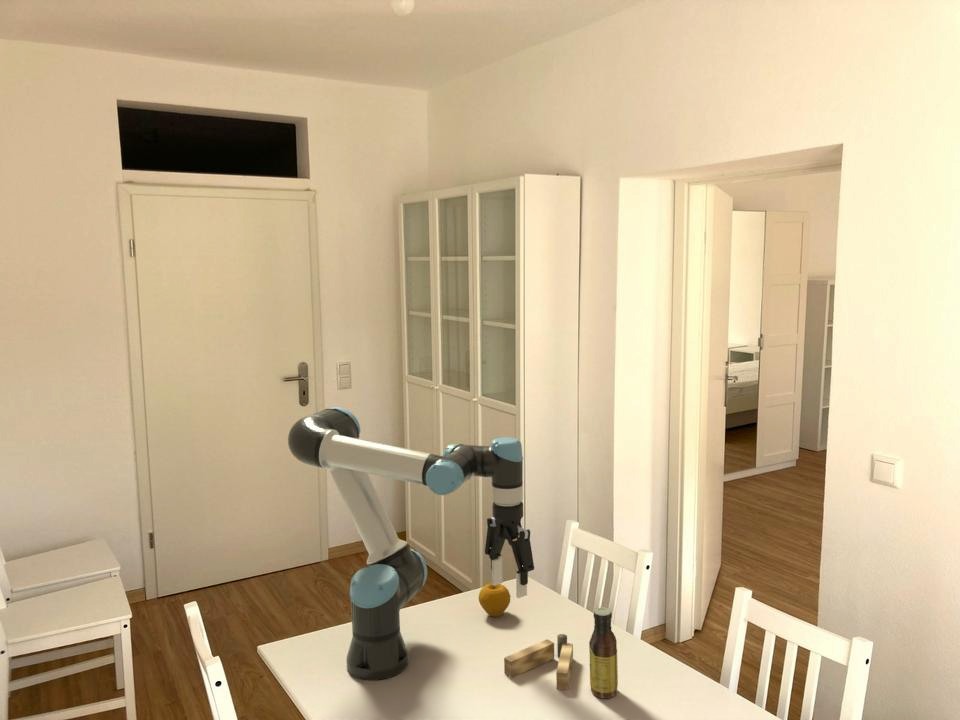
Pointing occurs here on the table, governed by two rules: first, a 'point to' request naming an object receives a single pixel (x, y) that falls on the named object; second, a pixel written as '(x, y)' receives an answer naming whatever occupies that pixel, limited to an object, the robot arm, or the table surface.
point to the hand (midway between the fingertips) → (509, 589)
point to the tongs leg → (528, 658)
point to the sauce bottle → (603, 655)
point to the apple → (494, 599)
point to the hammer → (564, 662)
